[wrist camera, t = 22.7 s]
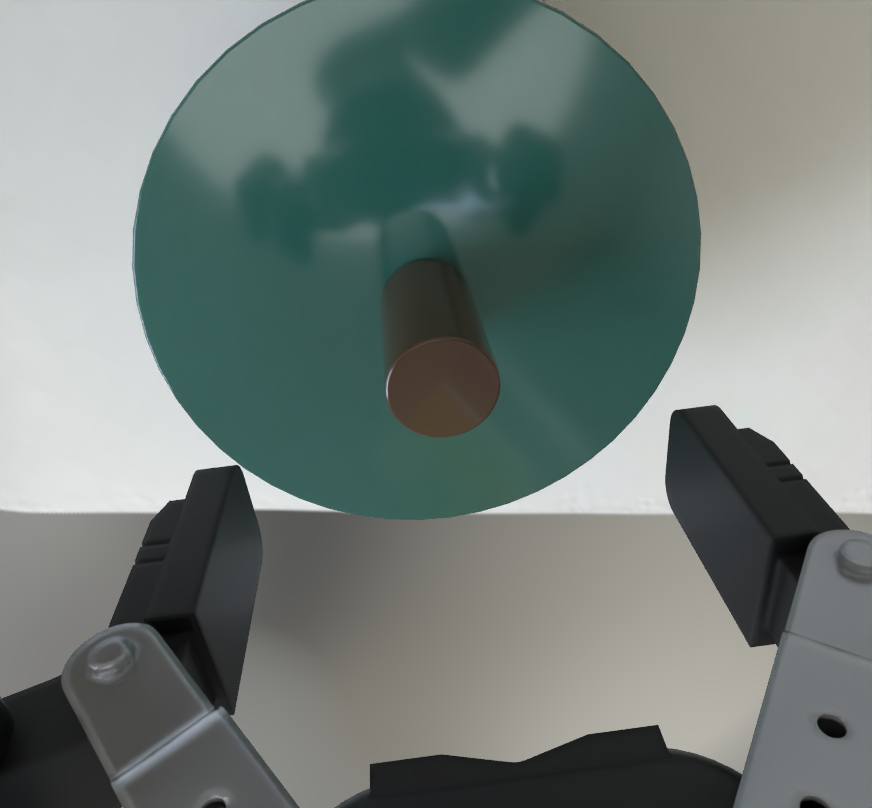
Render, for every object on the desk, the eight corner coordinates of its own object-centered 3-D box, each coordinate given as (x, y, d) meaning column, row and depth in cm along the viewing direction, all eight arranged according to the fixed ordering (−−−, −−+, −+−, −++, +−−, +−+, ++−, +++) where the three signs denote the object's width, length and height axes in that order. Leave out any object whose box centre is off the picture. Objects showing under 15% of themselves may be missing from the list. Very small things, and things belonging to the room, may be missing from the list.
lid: (711, -58, 17) (867, -76, 12) (665, 467, 25) (745, 595, 20) (55, 15, 17) (-85, 32, 12) (222, 526, 25) (186, 673, 20)
